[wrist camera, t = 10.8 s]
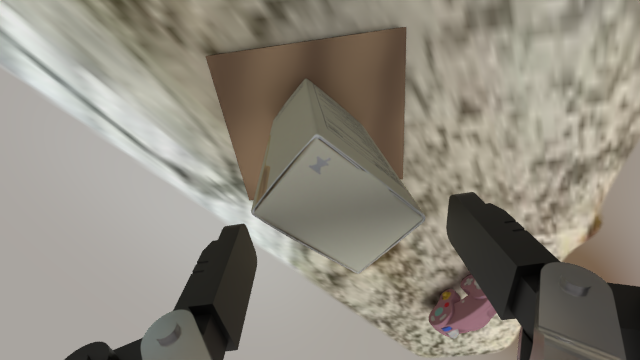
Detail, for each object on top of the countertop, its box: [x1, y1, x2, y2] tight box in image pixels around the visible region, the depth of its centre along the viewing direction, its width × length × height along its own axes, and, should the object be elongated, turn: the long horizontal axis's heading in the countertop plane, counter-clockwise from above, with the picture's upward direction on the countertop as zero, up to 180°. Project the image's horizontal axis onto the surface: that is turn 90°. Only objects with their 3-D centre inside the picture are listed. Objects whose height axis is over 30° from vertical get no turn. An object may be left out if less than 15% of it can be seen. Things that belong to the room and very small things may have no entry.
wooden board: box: [206, 27, 406, 200], centre depth 22 cm, size 14×12×2 cm
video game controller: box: [429, 274, 497, 338], centre depth 32 cm, size 10×5×7 cm, turn 139°
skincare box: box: [251, 79, 425, 273], centre depth 16 cm, size 6×4×12 cm
